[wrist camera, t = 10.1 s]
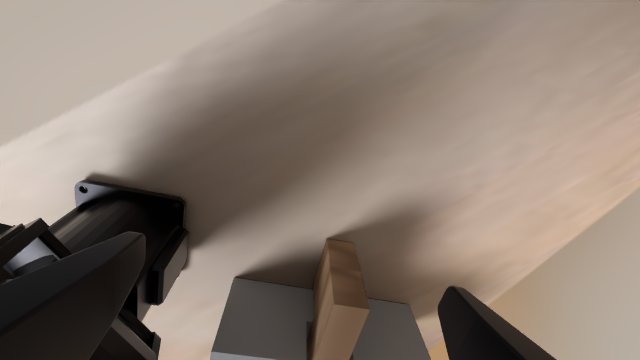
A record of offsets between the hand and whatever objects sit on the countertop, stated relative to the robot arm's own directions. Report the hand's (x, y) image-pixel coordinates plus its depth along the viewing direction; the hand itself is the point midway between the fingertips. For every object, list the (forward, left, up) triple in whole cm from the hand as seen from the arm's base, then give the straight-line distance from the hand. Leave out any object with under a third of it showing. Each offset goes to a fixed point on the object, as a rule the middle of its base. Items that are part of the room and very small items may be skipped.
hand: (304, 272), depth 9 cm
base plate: (+4, -12, -11) cm, 17 cm away
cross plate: (+4, -12, -11) cm, 17 cm away
